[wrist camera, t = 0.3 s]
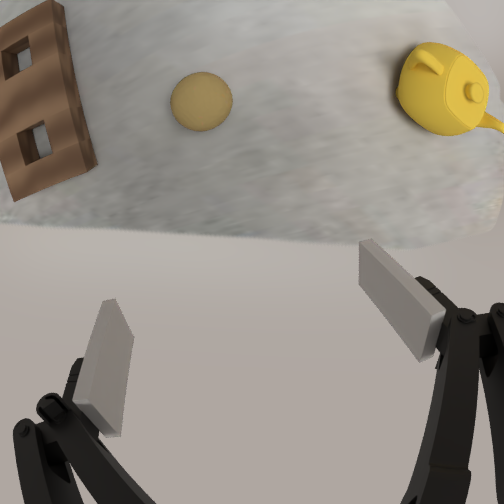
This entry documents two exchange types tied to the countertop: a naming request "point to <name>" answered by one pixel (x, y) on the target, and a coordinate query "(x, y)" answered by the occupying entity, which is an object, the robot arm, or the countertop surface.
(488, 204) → the countertop surface
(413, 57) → the teapot
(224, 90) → the light bulb
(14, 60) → the hole block
